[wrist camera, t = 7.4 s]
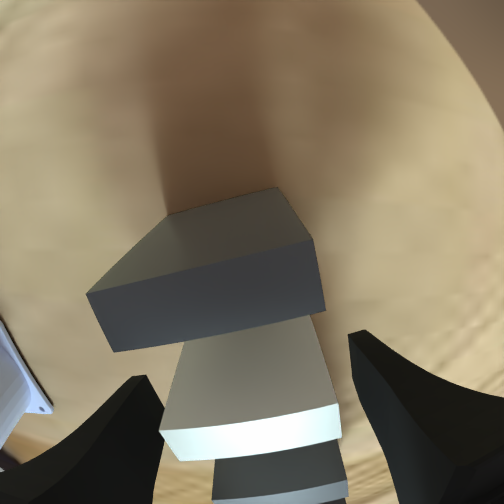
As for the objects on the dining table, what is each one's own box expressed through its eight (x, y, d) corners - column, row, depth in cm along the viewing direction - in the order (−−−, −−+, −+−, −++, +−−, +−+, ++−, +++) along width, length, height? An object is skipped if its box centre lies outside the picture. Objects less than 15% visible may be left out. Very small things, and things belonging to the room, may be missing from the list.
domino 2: (231, 394, 17) (224, 515, 10) (223, 374, 17) (211, 500, 9) (317, 376, 17) (348, 496, 9) (313, 355, 16) (347, 479, 9)
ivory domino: (206, 331, 16) (179, 461, 8) (196, 304, 15) (158, 430, 8) (304, 310, 16) (341, 437, 8) (298, 281, 15) (338, 403, 8)
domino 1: (177, 249, 15) (113, 352, 7) (167, 215, 14) (85, 293, 6) (285, 222, 14) (326, 310, 7) (277, 186, 14) (313, 239, 6)
